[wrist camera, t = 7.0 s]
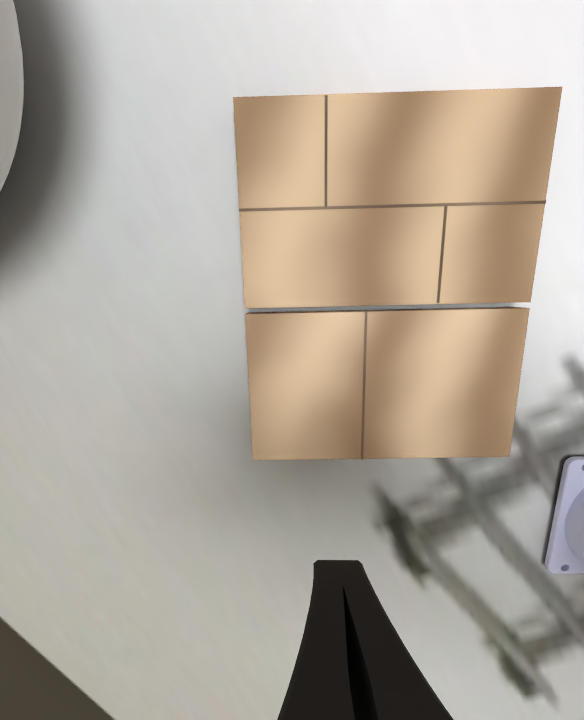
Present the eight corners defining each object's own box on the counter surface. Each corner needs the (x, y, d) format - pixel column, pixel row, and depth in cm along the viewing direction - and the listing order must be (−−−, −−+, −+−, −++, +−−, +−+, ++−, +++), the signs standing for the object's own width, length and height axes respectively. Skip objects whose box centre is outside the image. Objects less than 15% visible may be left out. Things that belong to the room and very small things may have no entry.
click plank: (513, 306, 17) (530, 308, 16) (496, 446, 19) (509, 457, 18) (248, 312, 17) (245, 314, 16) (255, 449, 19) (252, 460, 18)
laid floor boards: (541, 101, 15) (563, 86, 14) (514, 300, 17) (530, 302, 16) (238, 111, 15) (233, 96, 14) (248, 306, 17) (244, 308, 16)
